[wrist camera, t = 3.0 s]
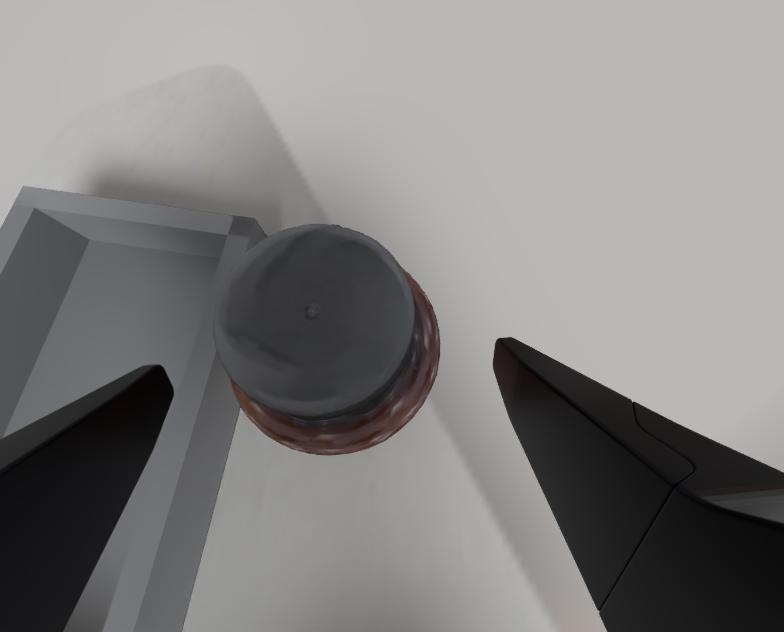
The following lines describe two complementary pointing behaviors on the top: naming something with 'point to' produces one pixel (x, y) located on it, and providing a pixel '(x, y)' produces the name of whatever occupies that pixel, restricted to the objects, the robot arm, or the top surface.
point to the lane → (126, 371)
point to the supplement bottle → (325, 339)
